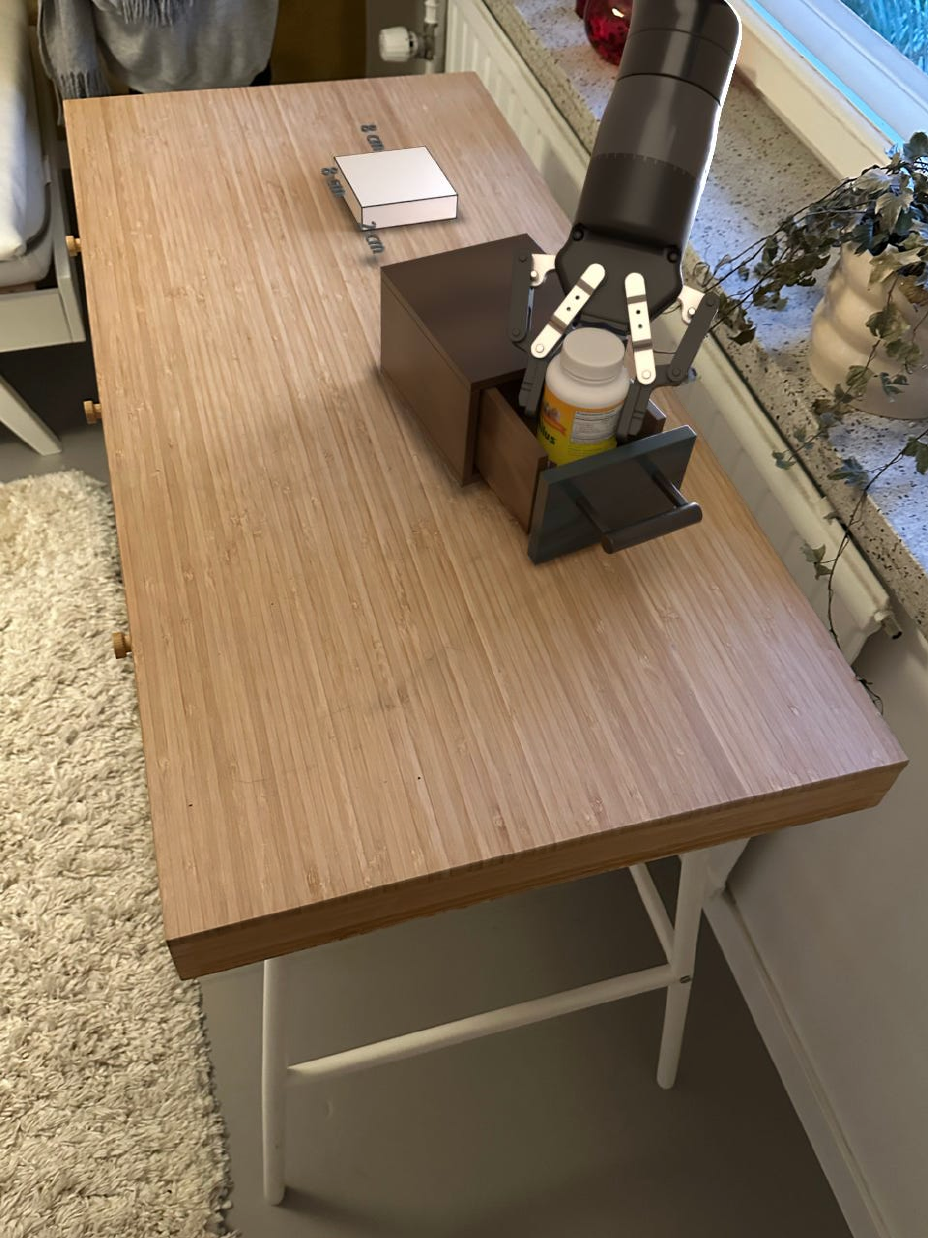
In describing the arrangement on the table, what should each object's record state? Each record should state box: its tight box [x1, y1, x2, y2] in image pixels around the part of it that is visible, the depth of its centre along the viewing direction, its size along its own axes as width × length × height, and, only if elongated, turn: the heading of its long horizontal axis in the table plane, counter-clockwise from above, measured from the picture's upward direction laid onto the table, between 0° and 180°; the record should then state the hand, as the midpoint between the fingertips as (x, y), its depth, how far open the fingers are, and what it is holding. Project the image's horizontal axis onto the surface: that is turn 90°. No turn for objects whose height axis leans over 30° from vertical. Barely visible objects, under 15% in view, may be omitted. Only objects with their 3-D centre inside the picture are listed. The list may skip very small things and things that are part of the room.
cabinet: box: [379, 232, 629, 488], centre depth 77 cm, size 15×13×10 cm
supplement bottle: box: [536, 328, 632, 470], centre depth 68 cm, size 6×6×10 cm
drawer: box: [473, 377, 704, 566], centre depth 71 cm, size 18×11×8 cm, turn 27°
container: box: [321, 124, 459, 255], centre depth 98 cm, size 20×11×3 cm, turn 20°
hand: (575, 429), depth 68 cm, fingers closed on supplement bottle, 5 cm apart
